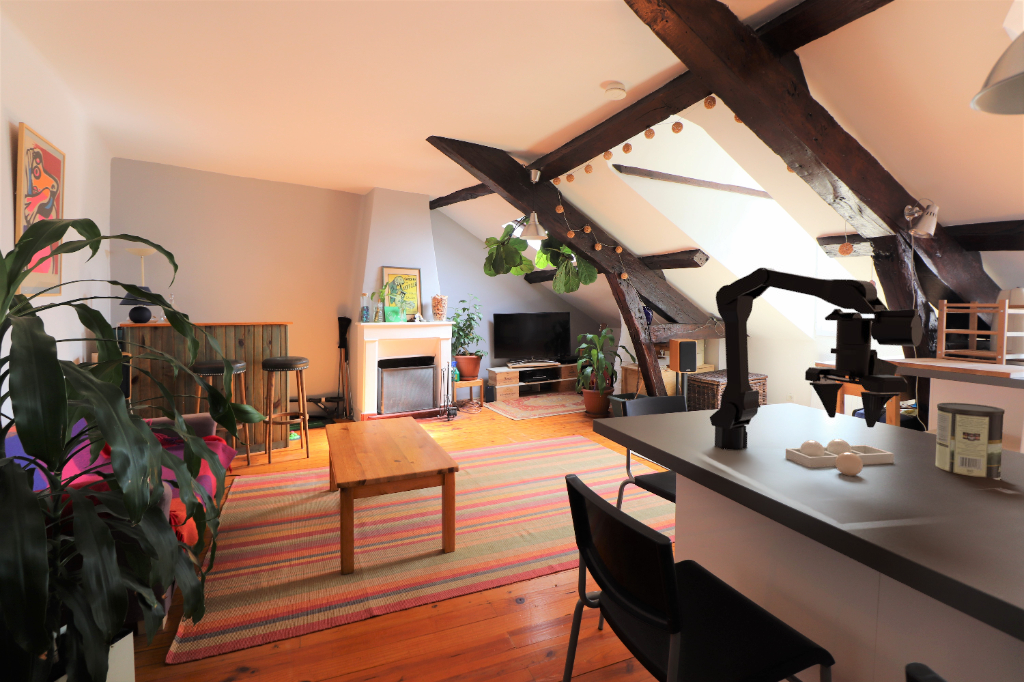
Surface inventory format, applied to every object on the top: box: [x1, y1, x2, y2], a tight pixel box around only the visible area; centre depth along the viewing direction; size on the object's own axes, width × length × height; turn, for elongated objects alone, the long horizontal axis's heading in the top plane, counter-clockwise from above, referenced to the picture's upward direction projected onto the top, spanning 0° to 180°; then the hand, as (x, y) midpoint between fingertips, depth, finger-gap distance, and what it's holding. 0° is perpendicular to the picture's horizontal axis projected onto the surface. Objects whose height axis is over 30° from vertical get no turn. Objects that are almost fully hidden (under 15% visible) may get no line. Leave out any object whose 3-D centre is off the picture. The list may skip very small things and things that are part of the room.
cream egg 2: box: [826, 438, 852, 455], centre depth 111 cm, size 5×5×5 cm
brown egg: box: [835, 452, 864, 477], centre depth 101 cm, size 5×5×5 cm
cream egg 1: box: [799, 439, 825, 457], centre depth 110 cm, size 5×5×5 cm
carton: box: [785, 444, 895, 468], centre depth 111 cm, size 20×7×3 cm, turn 100°
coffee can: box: [935, 402, 1006, 481], centre depth 104 cm, size 10×10×14 cm
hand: (850, 422), depth 100 cm, fingers open, 9 cm apart
